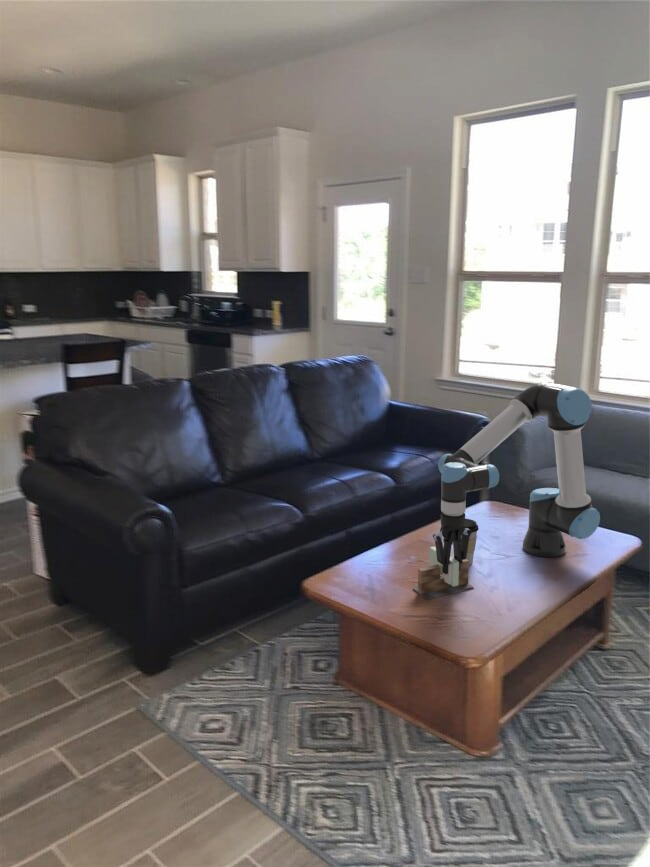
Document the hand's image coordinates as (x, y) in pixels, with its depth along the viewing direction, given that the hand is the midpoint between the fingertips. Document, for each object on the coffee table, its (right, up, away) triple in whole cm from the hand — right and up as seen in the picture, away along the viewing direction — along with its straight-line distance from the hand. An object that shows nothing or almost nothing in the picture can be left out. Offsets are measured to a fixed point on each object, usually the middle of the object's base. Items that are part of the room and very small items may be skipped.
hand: (451, 581), depth 222 cm
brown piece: (-2, -4, +5) cm, 6 cm away
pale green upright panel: (-2, +1, +4) cm, 4 cm away
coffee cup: (+9, +1, +25) cm, 27 cm away
